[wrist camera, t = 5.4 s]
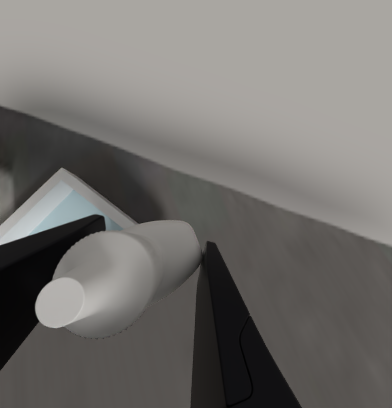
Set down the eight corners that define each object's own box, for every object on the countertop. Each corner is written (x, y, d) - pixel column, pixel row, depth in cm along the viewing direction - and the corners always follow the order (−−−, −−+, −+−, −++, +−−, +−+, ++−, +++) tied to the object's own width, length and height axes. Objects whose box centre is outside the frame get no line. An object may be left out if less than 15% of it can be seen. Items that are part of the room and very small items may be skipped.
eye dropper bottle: (134, 225, 14) (-63, 149, 3) (195, 232, 15) (244, 191, 3) (123, 276, 13) (-269, 497, 2) (189, 284, 14) (232, 514, 2)
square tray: (76, 315, 16) (55, 328, 13) (3, 250, 17) (-28, 251, 14) (145, 229, 18) (139, 227, 16) (77, 176, 19) (61, 167, 17)
